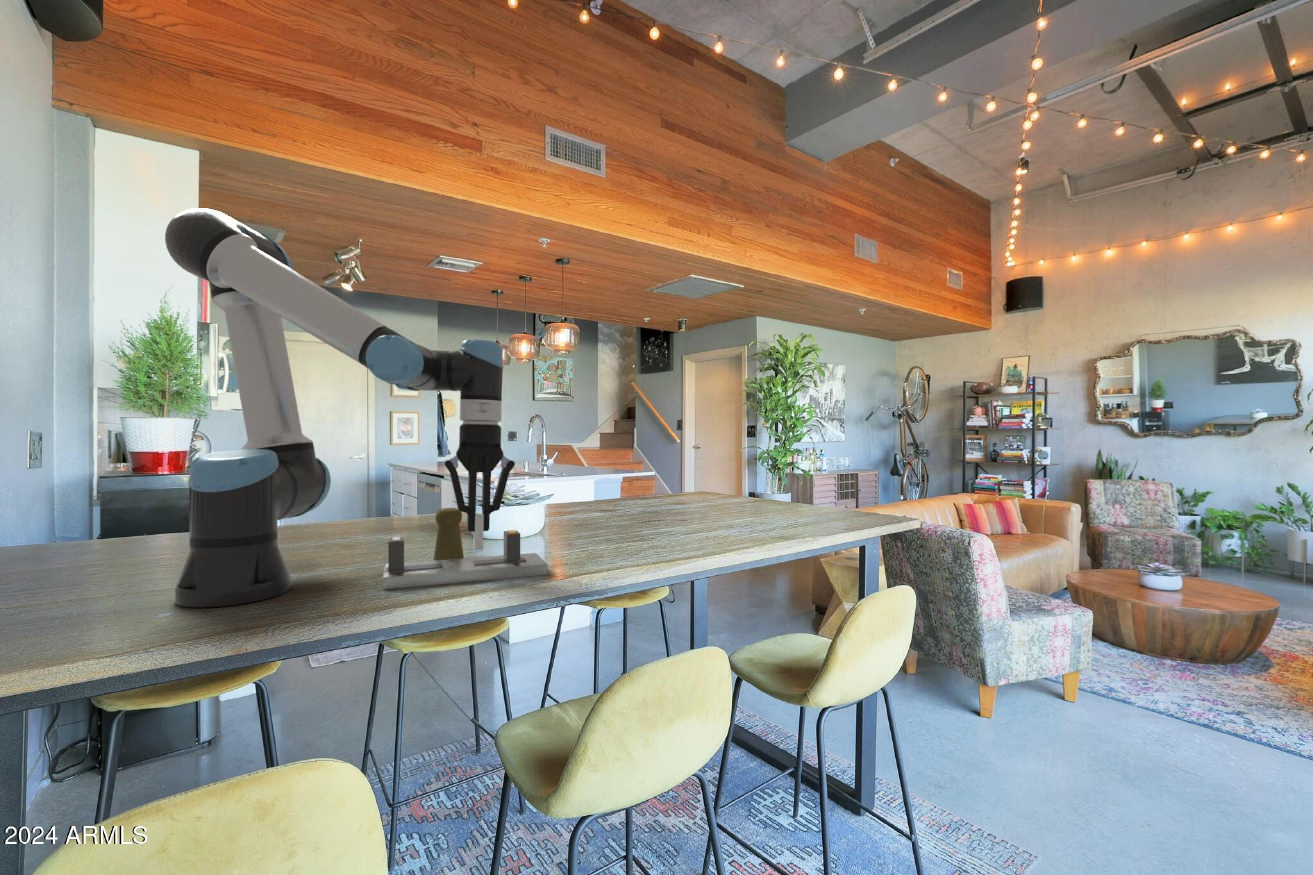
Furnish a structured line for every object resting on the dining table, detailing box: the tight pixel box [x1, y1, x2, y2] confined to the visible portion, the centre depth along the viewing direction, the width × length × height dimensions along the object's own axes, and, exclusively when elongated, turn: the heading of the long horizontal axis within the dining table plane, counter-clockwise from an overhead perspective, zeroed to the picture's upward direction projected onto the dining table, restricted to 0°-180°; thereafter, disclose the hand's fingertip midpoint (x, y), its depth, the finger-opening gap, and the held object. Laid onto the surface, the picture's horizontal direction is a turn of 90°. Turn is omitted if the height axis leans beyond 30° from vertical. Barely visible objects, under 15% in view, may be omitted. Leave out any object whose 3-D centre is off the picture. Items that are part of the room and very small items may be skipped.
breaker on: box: [387, 536, 405, 571], centre depth 105 cm, size 2×4×5 cm, turn 23°
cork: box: [433, 507, 465, 561], centre depth 121 cm, size 6×6×11 cm
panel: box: [382, 552, 549, 590], centre depth 110 cm, size 28×11×2 cm, turn 113°
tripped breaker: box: [503, 529, 521, 561], centre depth 113 cm, size 2×4×5 cm, turn 23°
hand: (478, 548), depth 111 cm, fingers closed
